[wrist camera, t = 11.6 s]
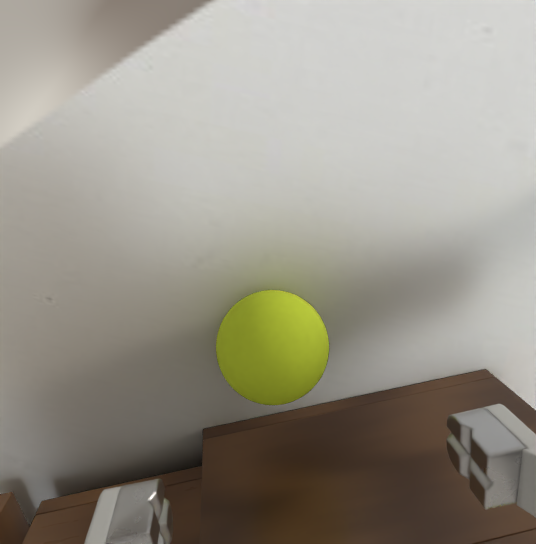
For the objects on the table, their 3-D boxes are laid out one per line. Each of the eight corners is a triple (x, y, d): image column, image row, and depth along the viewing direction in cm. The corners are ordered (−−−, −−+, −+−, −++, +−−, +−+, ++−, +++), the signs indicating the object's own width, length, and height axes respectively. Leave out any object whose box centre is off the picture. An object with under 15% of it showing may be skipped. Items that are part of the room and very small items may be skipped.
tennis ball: (225, 372, 20) (229, 442, 16) (206, 284, 19) (205, 333, 14) (317, 354, 21) (348, 417, 16) (307, 266, 19) (339, 308, 14)
